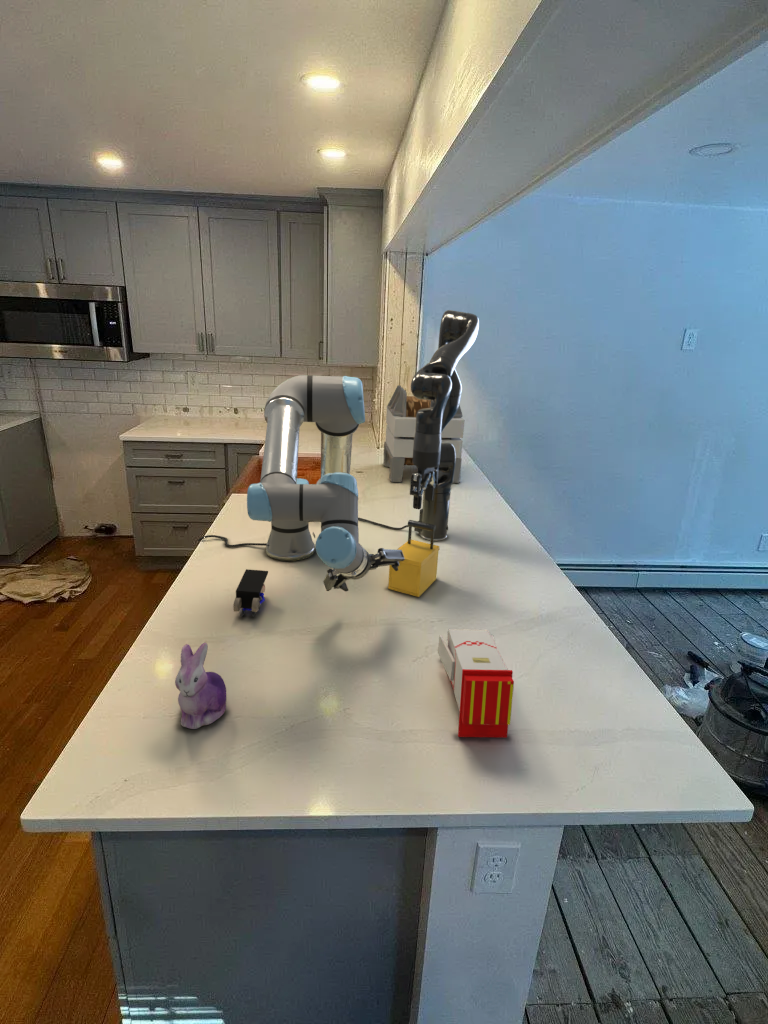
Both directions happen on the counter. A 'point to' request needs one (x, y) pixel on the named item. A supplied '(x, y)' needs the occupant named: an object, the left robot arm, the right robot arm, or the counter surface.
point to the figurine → (199, 690)
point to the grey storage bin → (403, 433)
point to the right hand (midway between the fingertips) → (423, 504)
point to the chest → (413, 577)
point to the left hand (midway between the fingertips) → (370, 575)
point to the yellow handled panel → (419, 545)
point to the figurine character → (250, 591)
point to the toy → (478, 682)
